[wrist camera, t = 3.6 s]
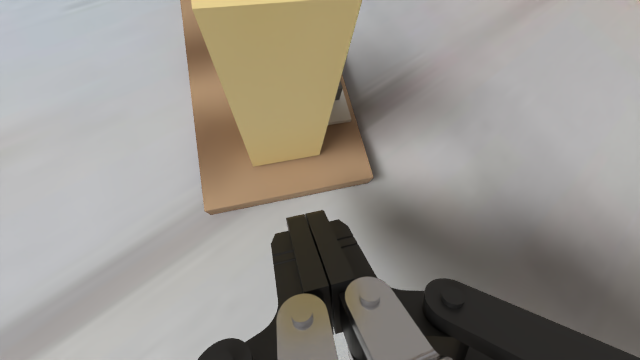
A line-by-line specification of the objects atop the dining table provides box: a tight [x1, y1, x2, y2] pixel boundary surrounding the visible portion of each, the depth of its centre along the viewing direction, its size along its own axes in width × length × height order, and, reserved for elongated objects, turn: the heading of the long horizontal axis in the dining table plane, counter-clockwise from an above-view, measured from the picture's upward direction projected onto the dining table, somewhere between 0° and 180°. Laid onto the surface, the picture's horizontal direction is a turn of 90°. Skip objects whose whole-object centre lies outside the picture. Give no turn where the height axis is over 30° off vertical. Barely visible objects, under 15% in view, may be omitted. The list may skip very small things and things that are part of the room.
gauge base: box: [180, 0, 373, 215], centre depth 16 cm, size 20×10×7 cm, turn 13°
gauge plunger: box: [191, 0, 362, 167], centre depth 12 cm, size 8×6×10 cm
